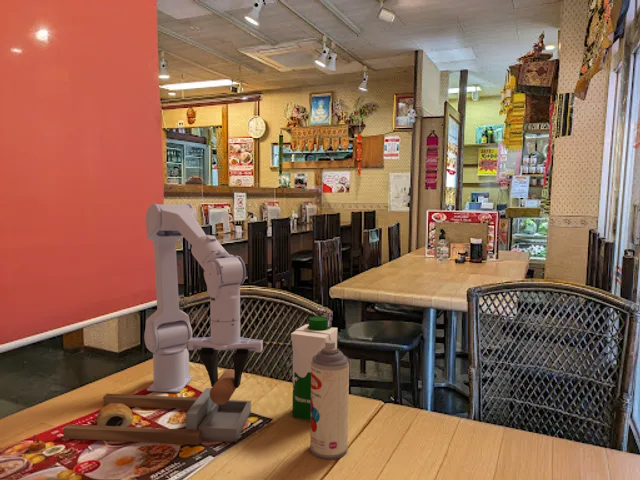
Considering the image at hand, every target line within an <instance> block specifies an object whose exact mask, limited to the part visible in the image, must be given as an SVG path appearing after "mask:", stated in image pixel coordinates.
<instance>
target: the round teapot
mask: <svg viewBox="0 0 640 480" xmlns="http://www.w3.org/2000/svg"><path fill="white" fill-rule="evenodd" d="M32 438H33V439H32V441H33V442H32V443H31V444H30V445H29V446H28V452H29V453H30V454H36V453H41V452H43V451H45V450H46V445H47V444H46V443H45V442H44V441H42V440H40V439H39V437H38V436H37V435H35V434H34V435H33V437H32ZM35 438H36V439H35Z"/></svg>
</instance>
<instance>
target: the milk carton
mask: <svg viewBox="0 0 640 480" xmlns="http://www.w3.org/2000/svg"><path fill="white" fill-rule="evenodd" d="M328 321H329V319H328V317H326V316H323V315H321V316H320V315H319V316H318V315H316V316H311V317H309V318H308V324H307V323H305V324H304V325H302V326H301V327H299V328H298V327H297V328H296V329H295V330H294V331H293V332H291V333H290V338H291V344H292V405H291V406H292V410H291V411H292V412H291V413H292V418H295V419H302V420H307V421H311V362H312V357H313V356H314V355H316V354H317V353H318V352H319V351H321V349H322V348H324V347H325V342H326V341H329V340H332V341H335V347H337V348H338V327H333V326H328V325H329V323H328Z"/></svg>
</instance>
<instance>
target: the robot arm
mask: <svg viewBox="0 0 640 480" xmlns="http://www.w3.org/2000/svg"><path fill="white" fill-rule="evenodd" d="M145 222H146V223H145V226H146V236H147V238H146V239H148V240H150V241H152V242H153V252H154V253H153V255H154V272H155V273H154V275H155V291H156V307H157V308H156V310H155V311H154V312H153V313H152V314H151V315H150V316H149V317H147V319H145V329H144V334H143V335H144V344H145V346H146V349H148V351H149V352H150V353H152V364H153V365H152V368H153V369H152V370H153V371H152V372H153V373H152V374H153V383H152V384H150V386H149V387H147V388H146V391H147V392H158V393H159V392H161V393H162V392H163V393H180V392H182V390H183V389H184V388H185V387H186V386H187V385H188V383H190V381H192V379H193V378H194V375H190V353H189V351H194V350H201V351H200V353H199V359H200V360H201V362H202V365H203V366H204V367H205V369H206V372H207V375H208V377H209V381H210V385H211V386H210V388H212V387H213V386H214V384H215V383H216V382H217V380H218V379H219V371H218V368H219V366H218V363H219V353H220V352H219V351H235V352H234V353H233V355H232V361H233V370H234V372H235V374H234V387H235V388H236V389H238V388H239V387H240V386H241V380H242V376H243V372H244V368H245V365H246V363H247V360H248V359H249V355H250V353H251V352H255V353H262V352H263V349H264V346H263V345H264V343H263V342H264V340H263V339H255V338H248V337H247V338H246V337H243V336H241V285H243V284H244V282H245V280H246V276H247V268H246V267H247V266H246V265H245V262H244V260H243V259H242V257H241V256H239V255H234V254H230V253H229V252H227V250H226V249H225V248H224V247H223V246H222V244H221V243H220V242H219V241H218V239H217V238H216V237H215V235H212V234H211V235H210V234H206V233H205V231H204V229H203V228H202V227H201V225H200V223H199V222H198V213H197V210H196V208H195V207H194V206H193V204H191V203H186V204H182V203H181V204H177V203H176V204H174V203H173V204H172V203H170V204H169V203H167V204H159V203H158V204H157V203H151V204H150V206H148V209H147V211H146V214H145ZM182 238H183V239H185V240H186V241H187V242H188V243H189V244H190V245H191V249H190V250H191V251H190V252H191V254H192V256H193V257H194V259H195V260H196V261H197V262H198V264H199V266H200V267H201V268H202V270H204V272H203V277H204V278H203V279H204V281H205V284H206V290H207V291H206V292H207V293H206V294H207V295H208V297H210V298H209V299H210V301H209V303H210V304H209V305H210V309H209V311H210V312H209V313H210V336H206V337H193V330H192V326H191V325H192V324H191V323H190V321H191V320H190V316H189V315H188V314H187V313H186V312H184V311H183V310H181V309H180V303H179V285H178V284H179V282H178V281H179V280H178V265H177V264H178V263H177V247H176V245H177V243H178V241H180V240H181V239H182Z"/></svg>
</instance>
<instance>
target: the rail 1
mask: <svg viewBox="0 0 640 480" xmlns="http://www.w3.org/2000/svg"><path fill="white" fill-rule="evenodd" d="M102 398H103V407H105V406H106V405H108V404H110V403H122V404H125V405H126V406H128V407H129V408H131V407H132V408H151V409H152V408H153V409H172V408H176V409H175V410H178V409H179V410H189V409H190V408H191V407H192V405H193V404H194V403H195V401H196V400H197V399H198V398H199V397H195V396H194V397H191V396H169V395H167V396H166V395H147V394H146V395H144V394H142V395H141V394H125V393H124V394H121V393H120V394H119V393H118V394H116V393H106V394H105V395H104V396H103V397H102ZM177 408H178V409H177Z"/></svg>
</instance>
